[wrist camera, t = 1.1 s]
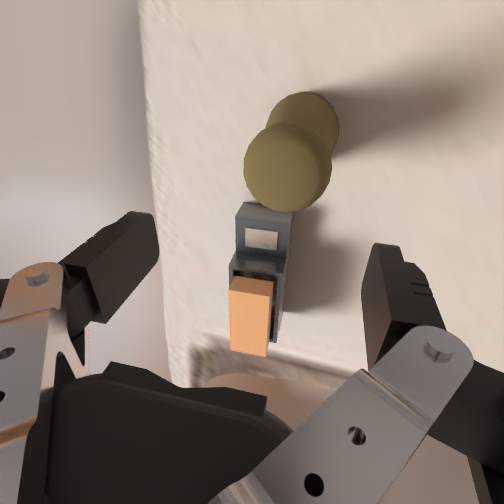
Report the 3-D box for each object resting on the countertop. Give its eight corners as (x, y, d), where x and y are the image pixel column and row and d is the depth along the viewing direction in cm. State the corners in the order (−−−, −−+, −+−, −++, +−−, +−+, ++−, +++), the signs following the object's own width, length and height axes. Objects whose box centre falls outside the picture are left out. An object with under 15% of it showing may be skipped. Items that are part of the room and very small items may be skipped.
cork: (251, 126, 26) (208, 169, 18) (309, 73, 23) (292, 92, 14) (294, 180, 28) (275, 244, 19) (353, 138, 25) (362, 190, 16)
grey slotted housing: (243, 202, 31) (227, 229, 26) (293, 208, 30) (286, 237, 25) (243, 305, 39) (231, 339, 34) (283, 312, 38) (275, 347, 33)
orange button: (234, 275, 28) (228, 289, 27) (273, 281, 28) (269, 296, 26) (235, 334, 33) (230, 349, 31) (269, 341, 32) (265, 356, 30)
